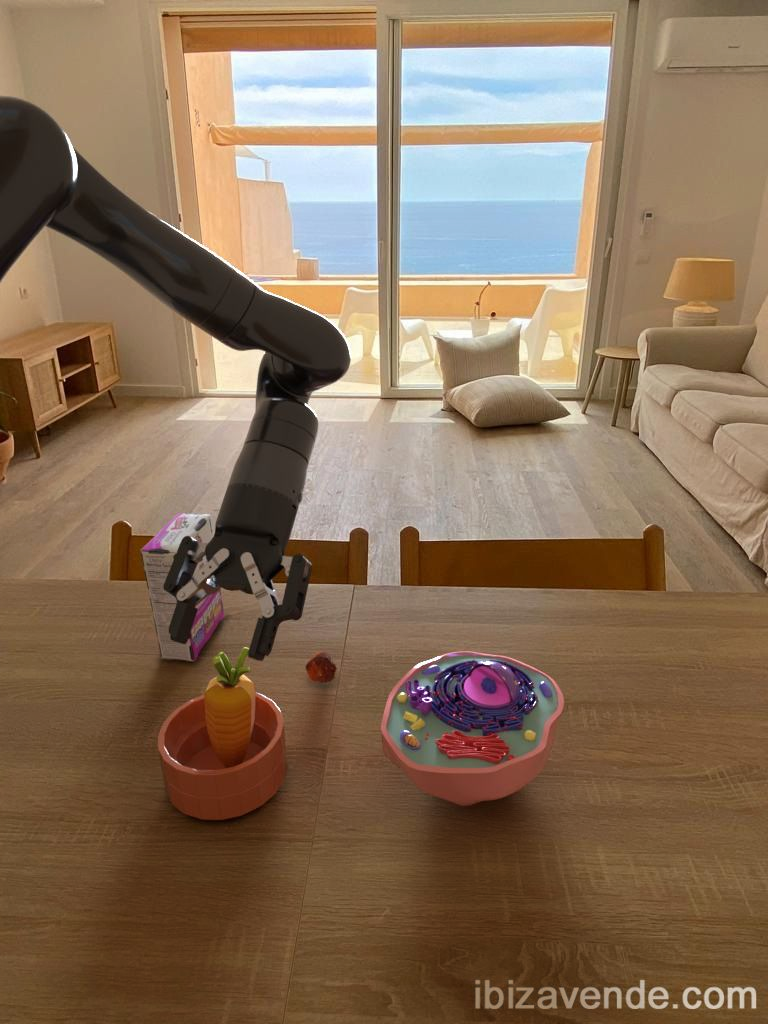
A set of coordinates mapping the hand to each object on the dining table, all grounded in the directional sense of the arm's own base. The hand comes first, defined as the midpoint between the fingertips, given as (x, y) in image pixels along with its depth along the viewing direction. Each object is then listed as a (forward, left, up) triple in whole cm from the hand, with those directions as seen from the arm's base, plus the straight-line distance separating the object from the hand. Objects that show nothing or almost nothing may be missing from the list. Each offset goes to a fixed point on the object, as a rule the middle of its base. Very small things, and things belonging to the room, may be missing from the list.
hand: (215, 650), depth 66 cm
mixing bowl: (0, -1, -15) cm, 15 cm away
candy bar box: (-11, +24, -16) cm, 31 cm away
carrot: (0, -1, -15) cm, 15 cm away
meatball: (+8, +15, -16) cm, 23 cm away
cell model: (+25, +1, -16) cm, 29 cm away
